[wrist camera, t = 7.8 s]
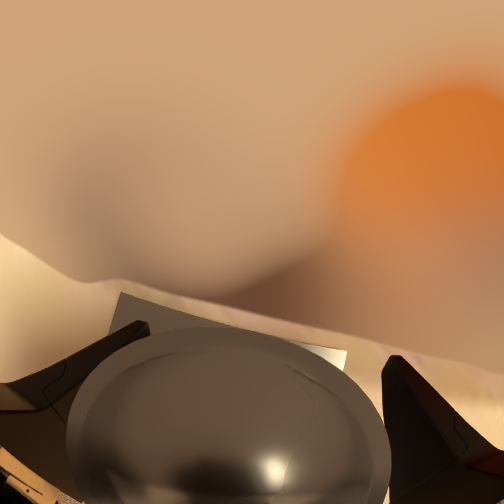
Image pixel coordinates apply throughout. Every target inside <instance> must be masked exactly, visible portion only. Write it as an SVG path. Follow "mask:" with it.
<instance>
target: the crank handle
mask: <svg viewBox="0 0 504 504" xmlns="http://www.w3.org/2000/svg"><path fill="white" fill-rule="evenodd" d="M66 449H67V456H68V462H69V467H70V470H71V473H72V476H73V479H74V482H75V484H76V487H77V489H78V491H79V493H80V495H81V497H82V499H83V500H84V502H85V504H383V502H384V499H385V496H386V493H387V490H388V487H389V482H390V475H391V449H390V444H389V439H388V434H387V432H386V429H385V426H384V424H383V421H382V419H381V417H380V415H379V413H378V412H377V410H376V408H375V407H374V405H373V403H372V402H371V400H370V399H369V398H368V397H367V395H366V394H365V393H364V392H363V391H362V389H361V388H360V387H359V386H358V385H357V384H356V383H355V382H354V381H353V380H352V379H351V378H349V377H348V376H347V375H346V374H345V373H344V372H343V371H342V370H340V369H339V368H337V367H336V366H334V365H333V364H331V363H330V362H328V361H327V360H325V359H324V358H323V357H321V356H319V355H317V354H315V353H313V352H311V351H309V350H307V349H305V348H303V347H301V346H299V345H296V344H294V343H291V342H288V341H285V340H283V339H280V338H277V337H274V336H270V335H266V334H262V333H258V332H254V331H249V330H241V329H233V328H226V327H195V328H184V329H175V330H171V331H166V332H162V333H157V334H153V335H150V336H148V337H145V338H142V339H140V340H137V341H134V342H132V343H130V344H128V345H127V346H125V347H123V348H121V349H119V350H117V351H116V352H114V353H113V354H112V355H110V356H109V357H108V358H106V359H105V360H103V361H102V362H101V363H100V364H99V365H98V366H97V367H96V368H95V369H94V370H93V371H92V372H91V373H90V374H89V376H88V377H87V378H86V380H85V381H84V383H83V384H82V386H81V387H80V388H79V390H78V392H77V395H76V397H75V399H74V401H73V403H72V406H71V410H70V413H69V417H68V422H67V430H66Z"/></svg>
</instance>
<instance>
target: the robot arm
mask: <svg viewBox="0 0 504 504" xmlns="http://www.w3.org/2000/svg"><path fill="white" fill-rule="evenodd" d="M150 335H151V333H150V327H149V323H148V322H147V321H143V320H136V321H134V322H132V323H130V324H128V325H127V326H125V327H123V328H121V329H119V330H117V331H115V332H114V333H112V334H110V335H108V336H106V337H104V338H102V339H101V340H99V341H97V342H95V343H93V344H91V345H89V346H88V347H86V348H84V349H82V350H80V351H78V352H76V353H75V354H73V355H71V356H69V357H67V359H66V358H65V359H63V360H61V361H60V362H58V363H56V364H54V365H52V366H50V367H48V368H45V369H43V370H41V371H39V372H36V373H34V374H31V375H29V376H26V377H24V378H21V379H19V380H16V381H14V382H10V383H0V504H58V502H57V498H58V496H59V494H60V492H61V491H62V492H63V493H65V494H67V495H68V496H70V497H72V498H73V499H75V500H77V501H79V502H80V503H82V502H83V499H82V497H81V495H80V493H79V491H78V489H77V487H76V484H75V482H74V479H73V476H72V473H71V470H70V467H69V462H68V456H67V449H66V430H67V422H68V417H69V413H70V410H71V406H72V403H73V401H74V399H75V397H76V395H77V392H78V390H79V388H80V387H81V386H82V384H83V383H84V381H85V380H86V378H87V377H88V376H89V374H90V373H91V372H92V371H93V370H94V369H95V368H96V367H97V366H98V365H99V364H100V363H101V362H102V361H103V360H105V359H106V358H108V357H109V356H110V355H112V354H113V353H114V352H116V351H117V350H119V349H121V348H123V347H125V346H127V345H128V344H130V343H132V342H134V341H137V340H140V339H142V338H145V337H148V336H150ZM381 379H382V406H383V417H384V425H385V429H386V432H387V434H388V439H389V444H390V449H391V475H390V482H389V500H390V502H389V504H504V451H503V450H500V449H497V448H496V447H494V446H493V445H492V444H491V443H490V442H488V441H487V440H486V439H485V438H484V437H483V436H482V435H480V434H479V433H478V432H477V431H476V430H475V429H474V428H473V427H471V426H470V425H469V424H468V423H467V422H466V421H465V420H464V419H463V418H462V417H461V416H460V415H459V414H458V413H457V412H456V411H455V410H454V408H453V407H452V406H451V405H450V404H449V403H448V402H447V401H446V400H445V399H444V398H443V397H442V396H441V395H440V394H439V393H438V392H437V391H436V390H435V389H434V388H433V387H432V386H431V385H430V384H429V383H428V382H427V381H426V380H425V379H424V378H423V377H422V376H421V375H420V374H419V373H418V372H417V371H416V370H415V369H414V368H413V367H412V366H411V365H410V364H409V363H408V362H407V361H406V360H405V359H404V358H403V357H402V356H400V355H391V356H390V357H389V359H388V361H387V362H386V364H385V366H384V368H383V370H382V374H381Z"/></svg>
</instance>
